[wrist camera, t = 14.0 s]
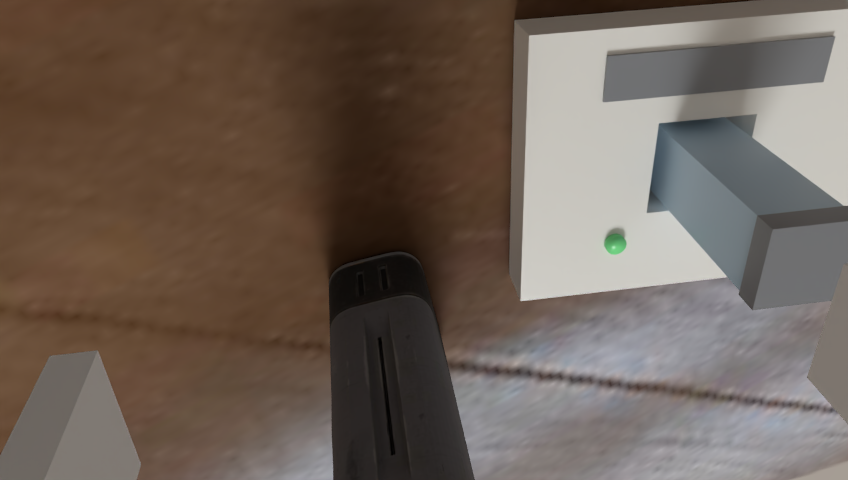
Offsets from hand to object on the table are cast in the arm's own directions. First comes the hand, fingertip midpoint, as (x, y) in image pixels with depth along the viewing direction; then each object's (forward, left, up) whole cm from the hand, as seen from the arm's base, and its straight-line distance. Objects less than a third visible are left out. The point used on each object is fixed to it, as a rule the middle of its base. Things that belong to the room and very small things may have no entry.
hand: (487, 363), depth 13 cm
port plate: (+9, +17, -27) cm, 33 cm away
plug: (+9, +17, -27) cm, 33 cm away
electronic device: (+19, -1, -27) cm, 33 cm away
